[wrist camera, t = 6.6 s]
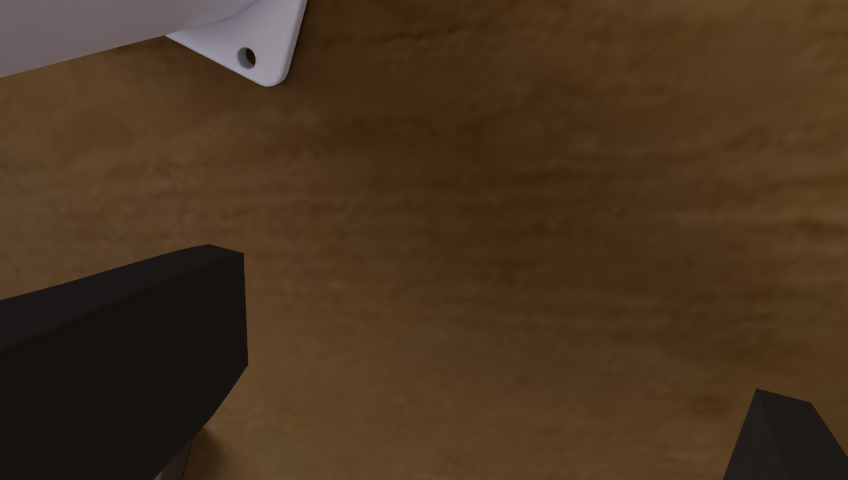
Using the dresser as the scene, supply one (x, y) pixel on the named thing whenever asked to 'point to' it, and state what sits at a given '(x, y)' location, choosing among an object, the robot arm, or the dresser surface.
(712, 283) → the dresser surface
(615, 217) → the dresser surface
